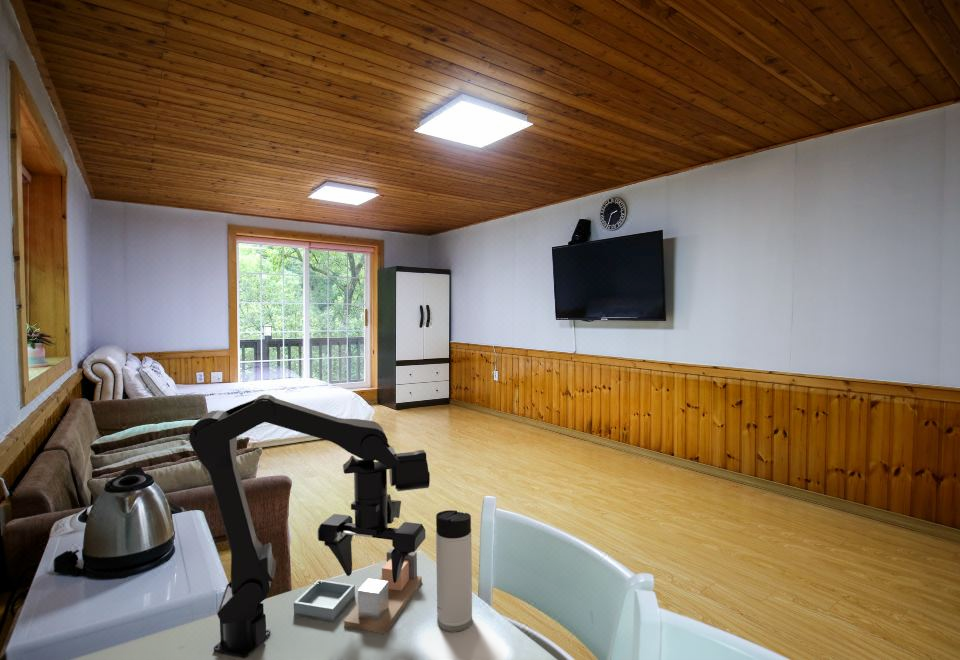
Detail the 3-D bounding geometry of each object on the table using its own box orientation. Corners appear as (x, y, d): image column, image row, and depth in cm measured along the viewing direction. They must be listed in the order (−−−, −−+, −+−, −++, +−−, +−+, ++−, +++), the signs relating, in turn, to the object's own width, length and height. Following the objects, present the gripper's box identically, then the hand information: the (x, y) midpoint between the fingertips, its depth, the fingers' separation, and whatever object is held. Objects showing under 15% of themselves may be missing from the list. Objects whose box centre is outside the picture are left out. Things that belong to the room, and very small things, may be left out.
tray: (294, 615, 93) (293, 602, 93) (318, 591, 101) (318, 579, 101) (333, 622, 91) (332, 609, 91) (355, 597, 99) (354, 584, 99)
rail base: (344, 626, 90) (343, 593, 90) (385, 576, 107) (385, 548, 106) (385, 633, 88) (385, 600, 88) (421, 581, 105) (421, 552, 104)
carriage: (358, 617, 91) (357, 590, 91) (368, 604, 95) (368, 578, 95) (378, 620, 90) (378, 593, 90) (388, 607, 94) (388, 581, 94)
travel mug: (429, 627, 90) (427, 516, 89) (448, 607, 96) (447, 502, 95) (460, 637, 87) (458, 523, 86) (478, 616, 93) (477, 509, 92)
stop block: (382, 587, 101) (381, 568, 100) (390, 577, 104) (390, 558, 104) (401, 590, 100) (400, 570, 99) (409, 579, 103) (408, 560, 103)
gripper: (435, 482, 97) (436, 562, 98) (346, 474, 101) (348, 550, 102) (412, 505, 86) (414, 595, 87) (314, 495, 91) (316, 580, 92)
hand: (372, 578), depth 92 cm, fingers open, 9 cm apart
